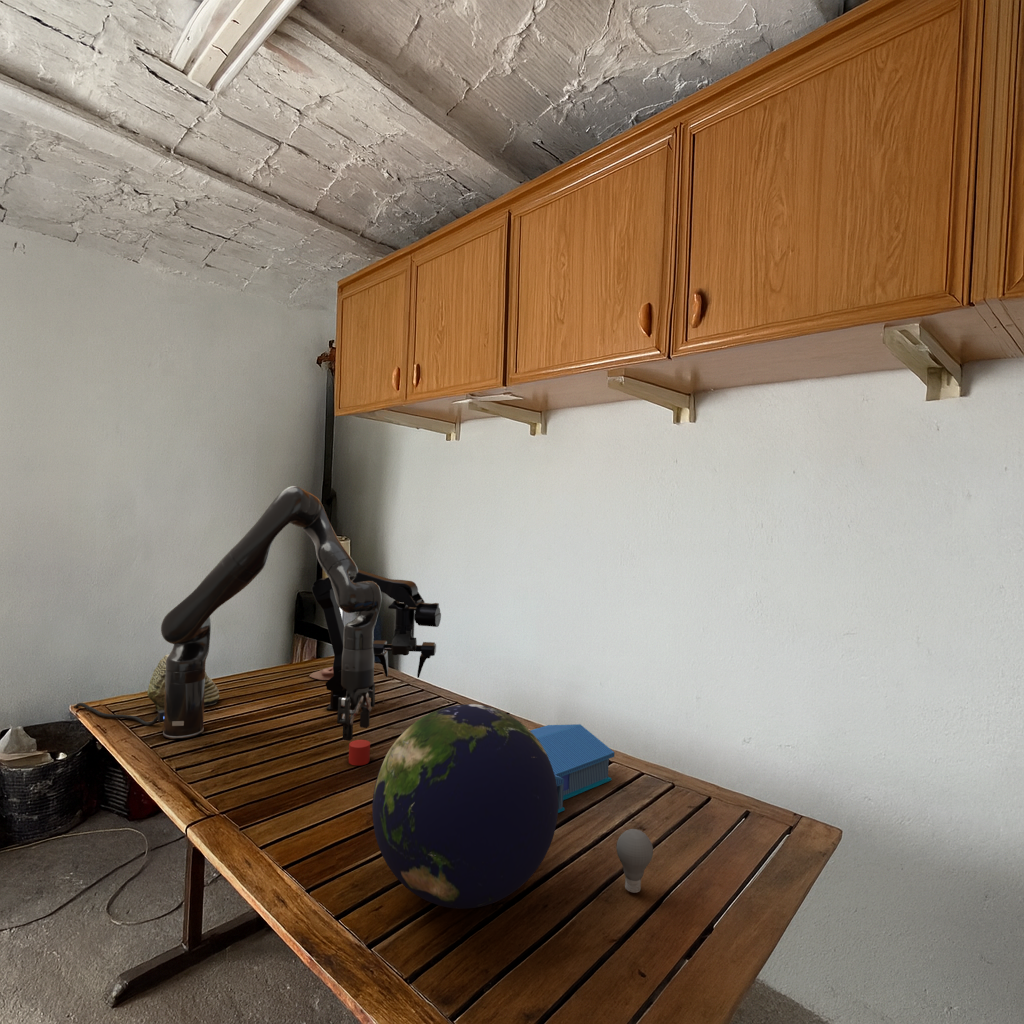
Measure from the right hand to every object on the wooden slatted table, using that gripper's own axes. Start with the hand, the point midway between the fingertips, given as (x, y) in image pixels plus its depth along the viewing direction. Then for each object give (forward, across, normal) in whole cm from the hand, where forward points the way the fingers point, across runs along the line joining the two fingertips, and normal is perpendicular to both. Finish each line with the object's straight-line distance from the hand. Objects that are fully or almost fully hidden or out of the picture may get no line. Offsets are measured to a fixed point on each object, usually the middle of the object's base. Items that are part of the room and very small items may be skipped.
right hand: (402, 677), depth 186 cm
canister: (+11, -5, -34) cm, 36 cm away
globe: (+11, +22, -84) cm, 88 cm away
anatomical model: (+11, -30, +36) cm, 48 cm away
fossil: (+11, -63, 0) cm, 64 cm away
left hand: (+4, -6, -36) cm, 36 cm away
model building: (+11, +34, -46) cm, 59 cm away
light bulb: (+11, +51, -82) cm, 97 cm away
